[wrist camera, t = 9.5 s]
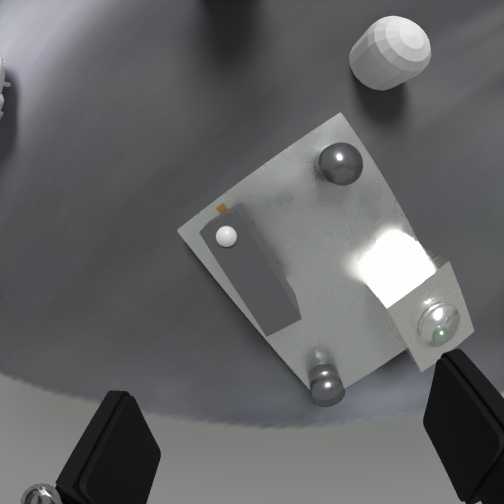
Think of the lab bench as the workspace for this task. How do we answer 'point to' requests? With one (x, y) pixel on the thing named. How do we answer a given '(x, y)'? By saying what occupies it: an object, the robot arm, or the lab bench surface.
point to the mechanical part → (2, 83)
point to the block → (251, 269)
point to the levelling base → (342, 263)
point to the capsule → (390, 53)
